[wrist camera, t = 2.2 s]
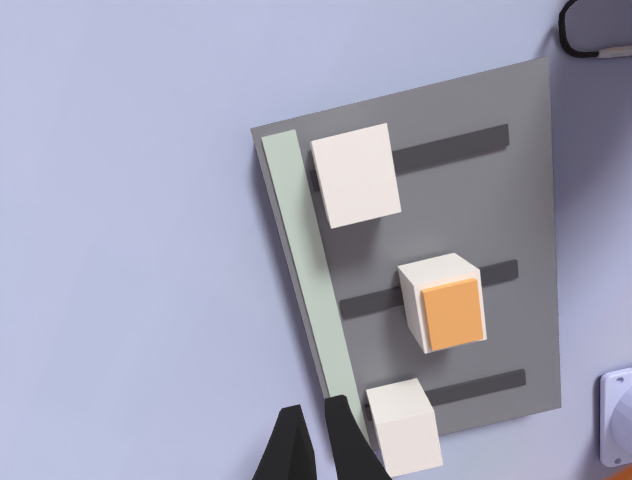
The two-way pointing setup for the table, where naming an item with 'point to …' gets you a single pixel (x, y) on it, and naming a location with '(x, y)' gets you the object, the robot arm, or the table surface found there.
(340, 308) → the breaker panel
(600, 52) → the multimeter
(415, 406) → the lever
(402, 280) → the lever
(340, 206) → the lever
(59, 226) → the table surface
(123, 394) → the table surface
